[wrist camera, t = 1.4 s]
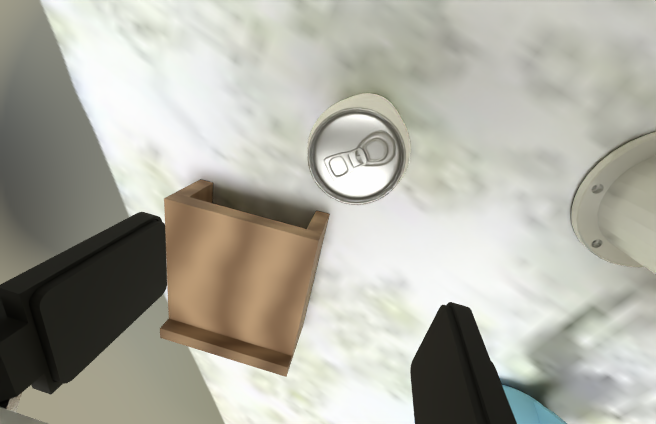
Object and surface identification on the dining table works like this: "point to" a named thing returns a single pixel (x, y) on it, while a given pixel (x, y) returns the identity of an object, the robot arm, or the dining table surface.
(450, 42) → the dining table surface
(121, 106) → the dining table surface
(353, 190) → the can
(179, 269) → the shelf
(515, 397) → the teapot
